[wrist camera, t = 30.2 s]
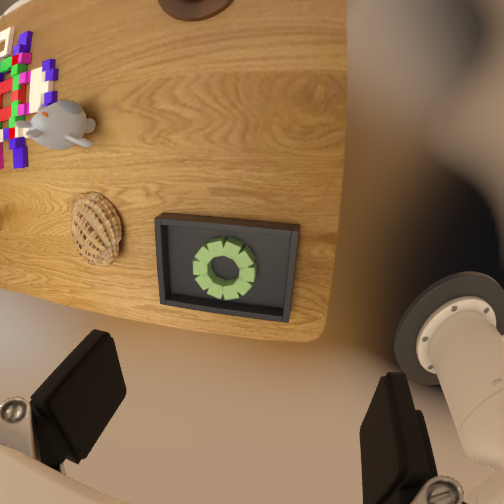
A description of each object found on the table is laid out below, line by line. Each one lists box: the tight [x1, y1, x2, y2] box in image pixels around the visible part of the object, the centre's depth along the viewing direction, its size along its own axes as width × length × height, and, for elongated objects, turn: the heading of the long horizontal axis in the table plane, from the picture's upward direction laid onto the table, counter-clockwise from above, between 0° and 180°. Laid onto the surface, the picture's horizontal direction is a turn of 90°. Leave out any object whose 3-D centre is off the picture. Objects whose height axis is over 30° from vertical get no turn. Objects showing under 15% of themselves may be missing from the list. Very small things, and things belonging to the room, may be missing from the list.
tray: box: [155, 213, 300, 323], centre depth 39 cm, size 17×12×2 cm
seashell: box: [70, 192, 122, 266], centre depth 39 cm, size 8×6×10 cm
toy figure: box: [15, 100, 96, 150], centre depth 31 cm, size 11×6×12 cm, turn 54°
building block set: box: [0, 27, 58, 169], centre depth 34 cm, size 25×20×4 cm
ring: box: [193, 236, 257, 300], centre depth 39 cm, size 7×8×2 cm
